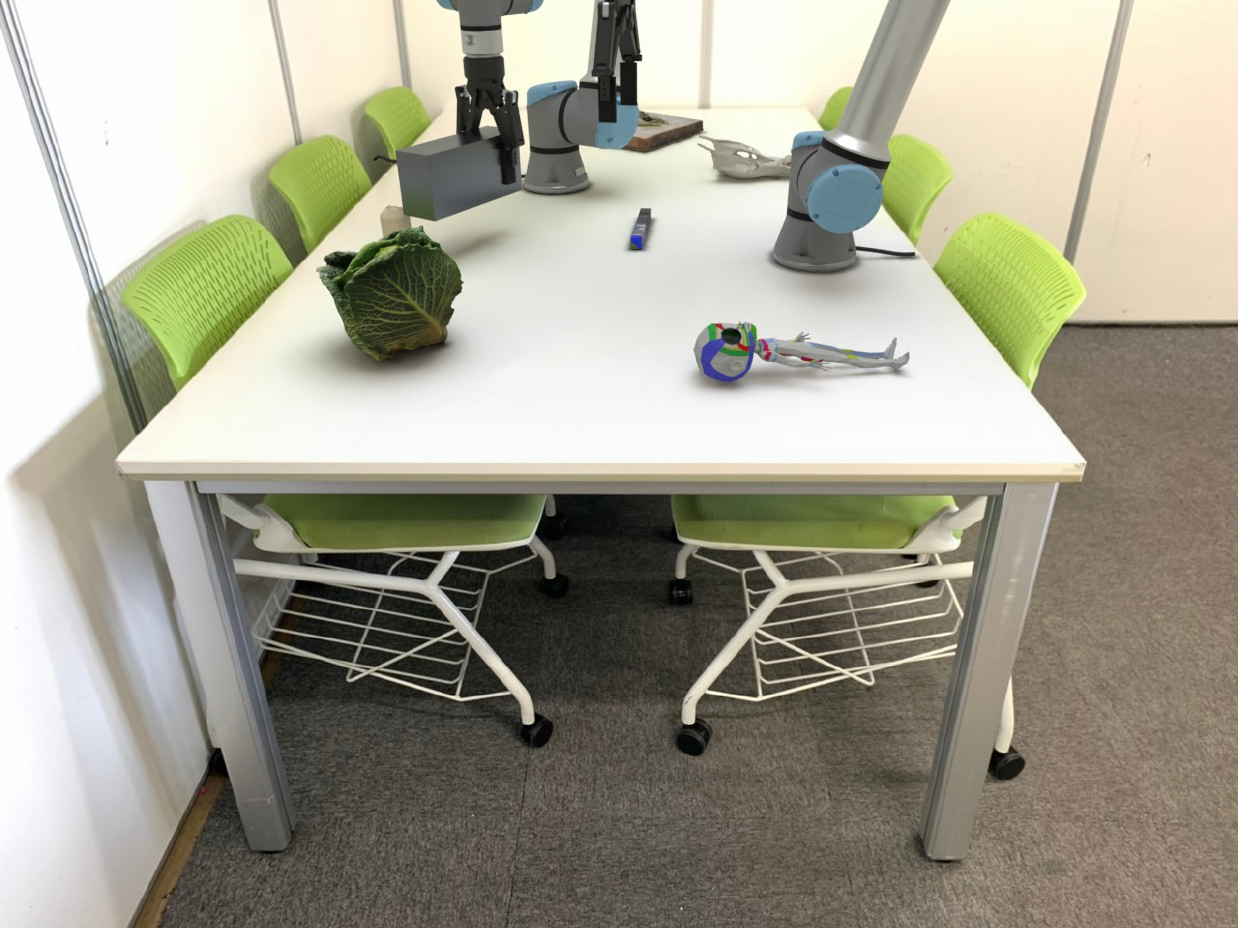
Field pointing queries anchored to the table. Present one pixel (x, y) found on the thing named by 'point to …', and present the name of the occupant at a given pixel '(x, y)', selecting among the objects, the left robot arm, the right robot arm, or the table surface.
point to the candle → (393, 220)
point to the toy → (775, 352)
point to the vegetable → (394, 292)
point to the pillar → (640, 228)
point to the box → (454, 174)
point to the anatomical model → (744, 160)
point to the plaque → (661, 130)
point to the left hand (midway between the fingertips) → (493, 180)
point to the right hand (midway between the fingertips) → (618, 113)
